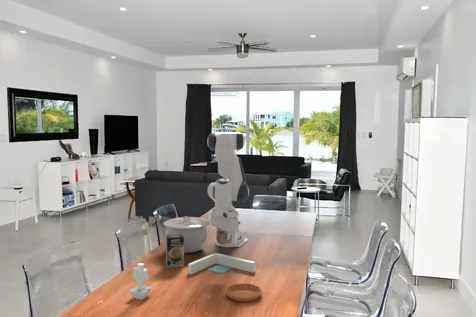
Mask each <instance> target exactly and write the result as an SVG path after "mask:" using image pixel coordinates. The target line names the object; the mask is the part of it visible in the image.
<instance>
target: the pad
mask: <svg viewBox="0 0 476 317" xmlns="http://www.w3.org/2000/svg"><path fill="white" fill-rule="evenodd" d="M206 269H207V268H206ZM231 269H232V267H228V266H224V265H220V264H215V265H213V266H212V267H208V269H207V271H210V272H212V273H213V272H214V273H218V274H224V273H226V272H227V271H229V270H231Z"/></svg>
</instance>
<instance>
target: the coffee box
mask: <svg viewBox="0 0 476 317" xmlns="http://www.w3.org/2000/svg"><path fill="white" fill-rule="evenodd" d="M165 266H166V268H167V269H170V268H179V267H184V266H185V253H184V236H183V235H182V234H177V235H166V234H165Z"/></svg>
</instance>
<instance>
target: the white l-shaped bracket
mask: <svg viewBox="0 0 476 317" xmlns="http://www.w3.org/2000/svg"><path fill="white" fill-rule="evenodd" d="M187 265H188V266H187V268H188V270H187V274H188V275H193V274H196V273H198V272H200V271H202V270H205V269H207V268H210V266H215V265H222V266H226V267H230V268H233V269H238V270H242V271H245V272H249V273H252V274H253V273H255V272H256V261H253V260H247V259H244V258H239V257H236V256H231V255H226V254H222V253H219V252H214V253H211V254H209V255H206V256H204V257H202V258H200V259H196V260H194V261H192V262H190V263H188V264H187Z"/></svg>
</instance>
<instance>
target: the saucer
mask: <svg viewBox="0 0 476 317" xmlns="http://www.w3.org/2000/svg"><path fill="white" fill-rule="evenodd" d="M262 293H263V289H262V288H261V287H259V285H256V284H253V283H235V284H232V285H229V286H228V287H226V288H225V294H226V296H227V297H228V298H229V299H231V300H232V301H234V302H238V303H239V302H240V303H248V302H249V303H251V302H253V301H256V300H257V299H258V298H260V296H262Z"/></svg>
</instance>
